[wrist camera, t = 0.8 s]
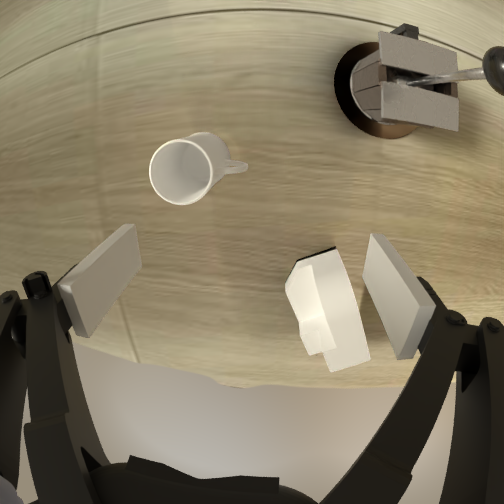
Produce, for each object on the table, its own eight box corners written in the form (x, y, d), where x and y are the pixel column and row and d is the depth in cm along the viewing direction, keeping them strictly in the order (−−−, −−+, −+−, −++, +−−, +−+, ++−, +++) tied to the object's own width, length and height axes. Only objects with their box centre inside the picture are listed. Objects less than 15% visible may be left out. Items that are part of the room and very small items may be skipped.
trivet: (331, 36, 33) (332, 35, 33) (424, 53, 32) (426, 53, 31) (333, 133, 40) (334, 133, 39) (425, 144, 39) (426, 144, 38)
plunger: (380, 53, 26) (480, 6, 8) (429, 64, 26) (543, 46, 7) (382, 106, 30) (492, 106, 11) (430, 115, 29) (549, 133, 10)
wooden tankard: (346, 37, 32) (372, 9, 21) (414, 50, 31) (457, 34, 20) (348, 120, 38) (378, 122, 26) (416, 129, 37) (461, 137, 26)
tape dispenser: (356, 314, 54) (370, 360, 43) (306, 330, 57) (311, 378, 45) (335, 245, 48) (351, 285, 37) (278, 265, 51) (278, 309, 39)
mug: (255, 137, 41) (247, 144, 31) (247, 191, 45) (238, 215, 34) (180, 130, 42) (149, 135, 31) (175, 181, 45) (146, 202, 35)
